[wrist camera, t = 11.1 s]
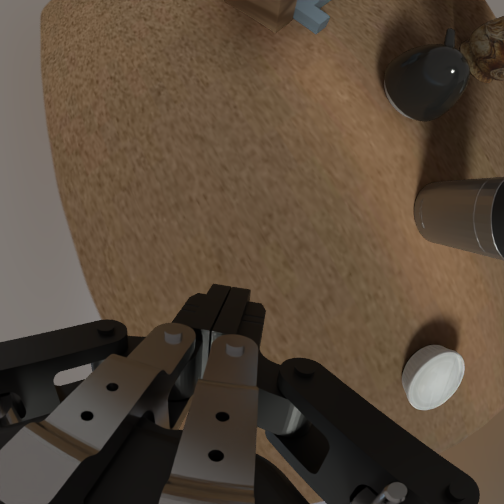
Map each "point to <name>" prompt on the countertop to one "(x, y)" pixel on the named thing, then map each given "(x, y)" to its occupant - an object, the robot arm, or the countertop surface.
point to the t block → (267, 11)
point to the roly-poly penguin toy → (427, 79)
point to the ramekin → (432, 376)
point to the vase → (486, 51)
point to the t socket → (311, 14)
